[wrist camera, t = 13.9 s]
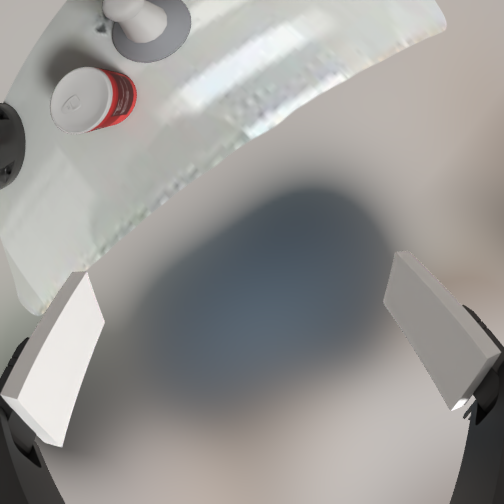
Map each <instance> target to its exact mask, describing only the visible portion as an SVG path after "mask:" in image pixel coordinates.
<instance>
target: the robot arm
mask: <svg viewBox="0 0 504 504" xmlns="http://www.w3.org/2000/svg"><path fill="white" fill-rule="evenodd" d="M24 155H25V133H24V128H23V125H22V122H21V119H20V117H19V115H18V114H17V112H16V111H15V110H14V109H13V108H12V107H10V106H9V105H7V104H3V103H0V189H2V188H4V187H6V186H8V185H9V184H10V183H12V182H13V181H14V179H15V178H16V177H17V175H18V173H19V171H20V169H21V167H22V164H23V160H24ZM383 303H384V305H385V306H386V308H387V309H388V311H389V312H390V314H391V315H392V316H393V318H394V320H395V321H396V323H397V324H398V325H399V327H400V329H401V330H402V332H403V333H404V335H405V336H406V338H407V339H408V341H409V343H410V344H411V346H412V347H413V349H414V350H415V352H416V354H417V355H418V357H419V358H420V360H421V362H422V363H423V364H424V367H425V368H426V370H427V371H428V373H429V375H430V376H431V378H432V380H433V381H434V383H435V385H436V387H437V388H438V390H439V392H440V393H441V395H442V397H443V399H444V401H445V402H446V404H447V406H448V408H449V409H450V411H452V410H454V409H456V408H459V407H461V406H463V405H465V404H466V403H467V401H468V400H469V399H470V397H471V396H472V395H474V397H475V398H476V400H475V401H474V403H473V404H472V405H471V406H470V408H469V409H468V410H467V411H466V413H465V414H464V416H463V418H464V419H465V418H466V417H467V416H468V414H469V413H470V412H471V416H470V418H469V419H468V420H470V424H469V430H468V436H467V441H466V446H465V450H464V455H463V459H462V463H461V467H460V471H459V475H458V478H457V482H456V485H455V489H454V492H453V495H452V498H451V501H450V504H504V347H503V346H502V344H501V343H500V342H499V341H498V339H497V338H496V337H495V336H494V335H493V334H492V332H491V331H490V330H489V329H488V328H487V327H486V325H485V324H484V323H483V322H481V319H480V318H479V317H478V316H477V315H476V314H475V313H474V311H472V310H470V309H469V308H468V307H466V306H464V305H461V304H460V303H459V302H458V300H457V299H456V298H455V297H454V296H453V295H452V294H451V293H450V292H449V291H448V290H447V289H446V288H445V287H444V285H443V284H442V283H441V282H440V281H439V280H438V279H437V278H436V277H435V276H434V275H433V274H432V273H431V272H430V271H429V270H428V269H427V268H426V267H425V266H424V265H423V264H422V263H421V262H420V261H419V260H418V259H417V258H416V257H415V256H414V255H413V254H411V252H410V251H401V252H395V255H394V260H393V264H392V269H391V273H390V277H389V281H388V285H387V289H386V293H385V297H384V301H383ZM104 323H105V321H104V319H103V316H102V313H101V311H100V308H99V305H98V302H97V300H96V297H95V294H94V291H93V288H92V285H91V283H90V279H89V276H88V273H87V271H85V272H72V273H71V275H70V276H69V278H68V279H67V280H66V282H65V283H64V285H63V286H62V288H61V289H60V291H59V292H58V294H57V295H56V297H55V298H54V300H53V301H52V303H51V304H50V306H49V307H48V309H47V310H46V312H45V314H44V315H43V317H42V318H41V320H40V322H39V323H38V325H37V326H36V328H35V330H34V332H33V333H32V335H31V337H30V338H28V337H27V338H26V339H25V340H24V341H23V342H22V343H21V344H20V345H19V346H18V347H17V349H16V351H15V352H14V354H13V356H12V359H10V361H9V363H8V367H6V369H5V370H4V372H3V374H2V376H1V378H0V504H65V502H64V500H63V498H62V497H61V495H60V493H59V491H58V489H57V487H56V485H55V483H54V481H53V479H52V477H51V474H50V472H49V470H48V468H47V466H46V463H45V461H44V459H43V456H42V454H41V452H40V449H39V447H38V445H37V443H36V442H35V441H34V439H35V436H36V435H38V437H40V438H41V439H42V440H43V441H44V442H45V443H48V444H52V445H56V446H59V447H62V445H63V441H64V438H65V434H66V431H67V427H68V424H69V420H70V417H71V414H72V410H73V407H74V404H75V401H76V398H77V395H78V392H79V389H80V386H81V383H82V380H83V377H84V375H85V372H86V369H87V366H88V364H89V361H90V358H91V356H92V353H93V350H94V348H95V345H96V343H97V340H98V338H99V335H100V333H101V330H102V328H103V325H104Z"/></svg>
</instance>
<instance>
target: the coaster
mask: <svg viewBox="0 0 504 504" xmlns="http://www.w3.org/2000/svg"><path fill="white" fill-rule="evenodd" d="M146 1H148V2H150V3H152V4H154V5H157V6H159V7H161V8H162V9H163V10H164V12H165V13H166V15H167V26H166V28H165V29H164V31H163V33H162V34H161V35H160V36H158V37H157V38H156V39H155V40H152V41H149V42H147V43H135V42H133V41H132V40H130V39H128V38H127V36H126V34H125V33H124V31H123V29H122V28H121V26H120V24H119V22H115V24H114V28H113V41H114V45H115V47H116V49H117V50H118V51H119V53H120V54H122V55H123V56H124V57H126V58H127V59H130V60H132V61H135V62H141V63H147V62H154V61H158V60H161V59H163V58H166V57H168V56H169V55H171V54H172V53H174V52H175V51H176V50H177V49H179V48H180V47H181V45H182V44H183V43H184V42H185V40H186V38H187V37H188V34H189V32H190V28H191V16H190V13H189V10H188V8H187V7H186V5H185V4H184V3H183V2H182V1H181V0H146Z"/></svg>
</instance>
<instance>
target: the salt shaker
mask: <svg viewBox="0 0 504 504" xmlns="http://www.w3.org/2000/svg"><path fill="white" fill-rule="evenodd" d="M102 11H103V12H104V14H105V16H106V17H107V18H109V19H111V20H113V21H115V22H119V24H120V26H121V28H122V29H123V31H124V33H125V34H126V36H127V38H128V39H130V40H132V41H133V42H135V43H147V42H149V41H152V40H155V39H156V38H157V37H158V36H160V35H161V34H162V33H163V31H164V29H165V28H166V26H167V15H166V13H165V12H164V10H163V9H162V8H161V7H159V6H157V5H154V4H152V3H150V2H148V1H146V0H103V2H102Z"/></svg>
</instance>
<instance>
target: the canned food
mask: <svg viewBox="0 0 504 504" xmlns="http://www.w3.org/2000/svg"><path fill="white" fill-rule="evenodd" d="M136 98H137V92H136V88H135V85H134V83H133V81H132V80H131V79H130V78H129V77H127V76H126V75H123V74H120V73H116V72H112V71H108V70H104V69H100V68H95V67H81V68H77V69H74V70H72V71H71V72H69V73H67V74H66V75H65V76H64V77H63V78H62V79H61V80H60V81H59V82H58V84H57V85H56V87H55V89H54V91H53V94H52V97H51V101H50V112H51V116H52V120H53V121H54V123H55V125H56V126H57V127H58V128H59V129H60V130H62V131H63V132H66V133H69V134H82V133H86V132H90V131H93V130H97V129H100V128H104V127H108V126H112V125H115V124H118V123H120V122H121V121H123V120H124V119H125V118H127V117H128V116H129V114H130V113H131V112H132V110H133V108H134V106H135V103H136Z"/></svg>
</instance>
